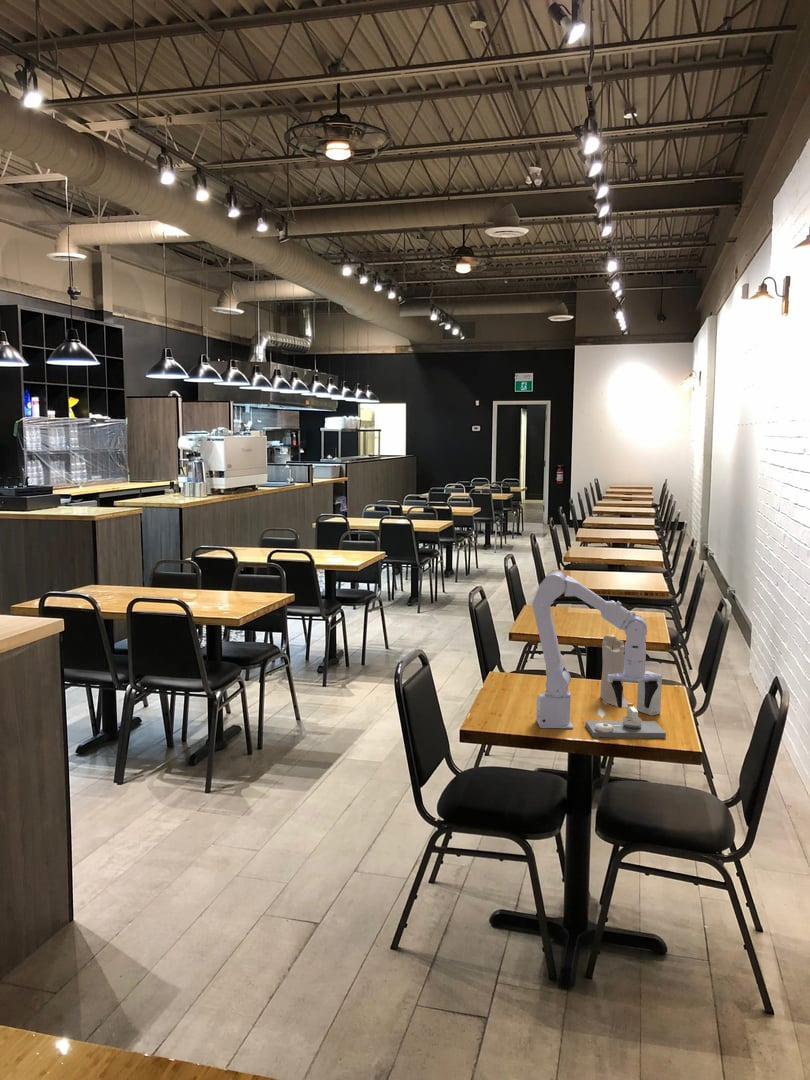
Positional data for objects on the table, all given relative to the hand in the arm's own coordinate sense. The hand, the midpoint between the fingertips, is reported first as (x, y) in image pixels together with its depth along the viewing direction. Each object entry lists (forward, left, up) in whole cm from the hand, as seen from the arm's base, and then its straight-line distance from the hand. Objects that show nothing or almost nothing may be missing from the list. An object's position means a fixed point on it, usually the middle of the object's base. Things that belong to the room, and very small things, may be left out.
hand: (633, 707), depth 238 cm
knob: (0, 0, -5) cm, 5 cm away
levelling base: (-2, 0, -7) cm, 8 cm away
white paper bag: (+3, +29, -7) cm, 30 cm away
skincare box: (+10, +18, -7) cm, 22 cm away
